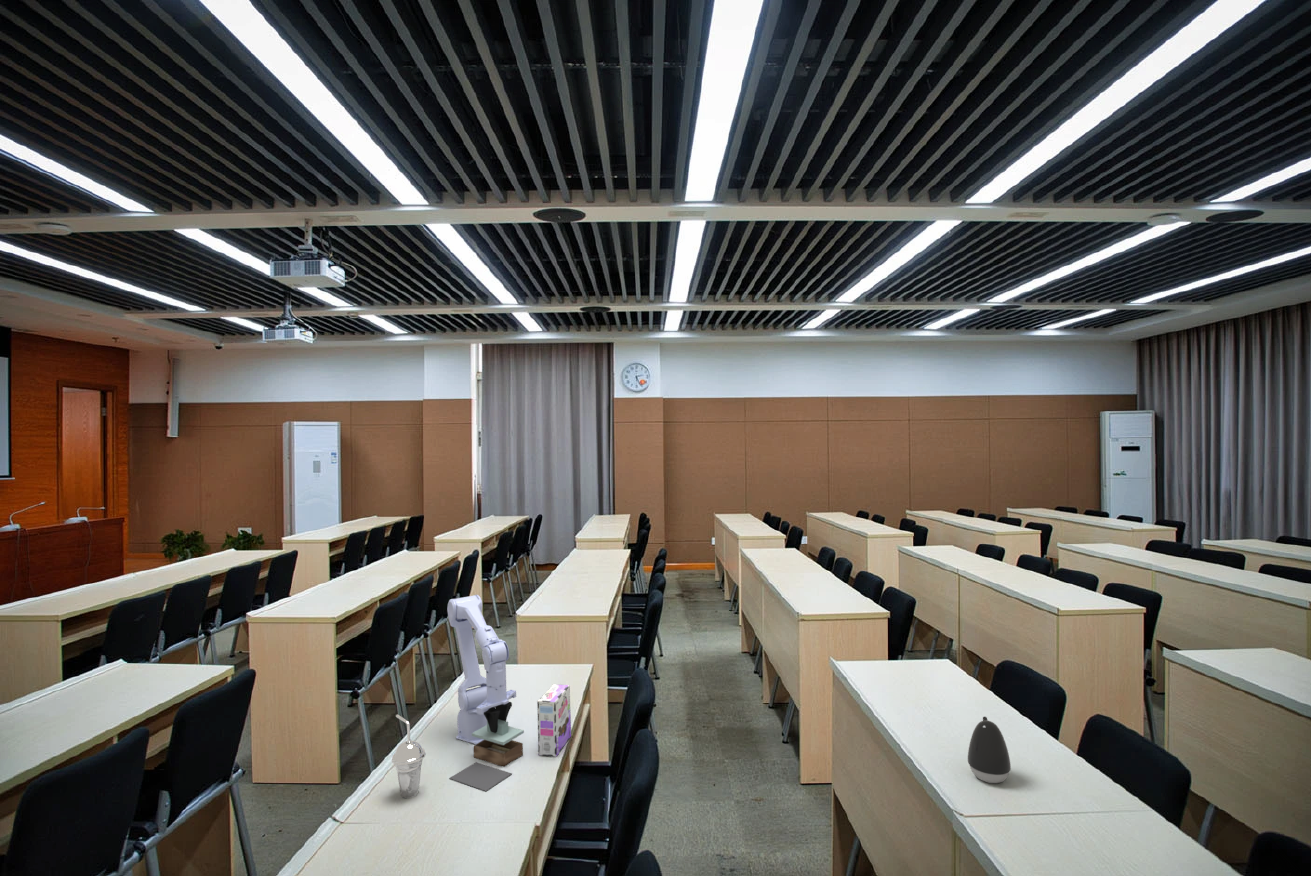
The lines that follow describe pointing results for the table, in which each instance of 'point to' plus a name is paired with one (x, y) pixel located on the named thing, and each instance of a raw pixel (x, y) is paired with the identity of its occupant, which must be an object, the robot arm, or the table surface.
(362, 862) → the table surface
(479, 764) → the mat
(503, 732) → the lid
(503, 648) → the robot arm
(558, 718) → the candy box
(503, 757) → the chalk box
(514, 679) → the table surface
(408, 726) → the cup with straw
